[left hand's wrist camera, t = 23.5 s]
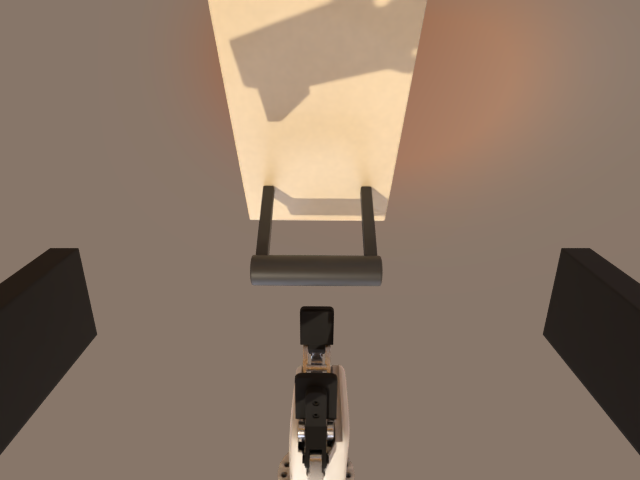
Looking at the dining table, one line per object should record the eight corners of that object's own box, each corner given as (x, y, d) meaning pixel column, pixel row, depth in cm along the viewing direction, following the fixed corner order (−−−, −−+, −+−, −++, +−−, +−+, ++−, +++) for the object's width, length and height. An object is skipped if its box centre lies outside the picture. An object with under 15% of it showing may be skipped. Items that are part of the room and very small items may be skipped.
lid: (383, 208, 33) (394, 311, 28) (251, 207, 33) (238, 310, 28) (432, -61, 19) (470, 52, 14) (202, -62, 19) (159, 50, 14)
